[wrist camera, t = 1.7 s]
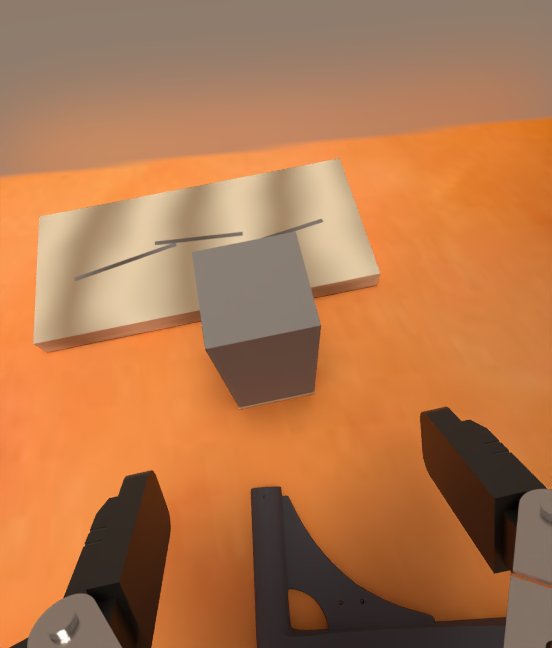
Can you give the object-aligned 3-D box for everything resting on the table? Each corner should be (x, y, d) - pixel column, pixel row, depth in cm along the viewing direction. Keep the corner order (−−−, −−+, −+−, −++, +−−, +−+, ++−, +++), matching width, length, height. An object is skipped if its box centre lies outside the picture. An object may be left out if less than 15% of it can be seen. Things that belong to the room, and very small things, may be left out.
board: (338, 173, 32) (339, 158, 31) (376, 285, 28) (380, 273, 26) (50, 229, 31) (39, 216, 30) (46, 352, 27) (33, 343, 26)
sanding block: (298, 325, 27) (296, 230, 18) (314, 393, 25) (322, 326, 16) (228, 339, 27) (190, 251, 18) (239, 409, 25) (203, 350, 16)
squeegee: (623, 835, 17) (678, 889, 15) (267, 854, 18) (261, 911, 15) (516, 470, 23) (543, 464, 21) (252, 490, 24) (246, 486, 21)
